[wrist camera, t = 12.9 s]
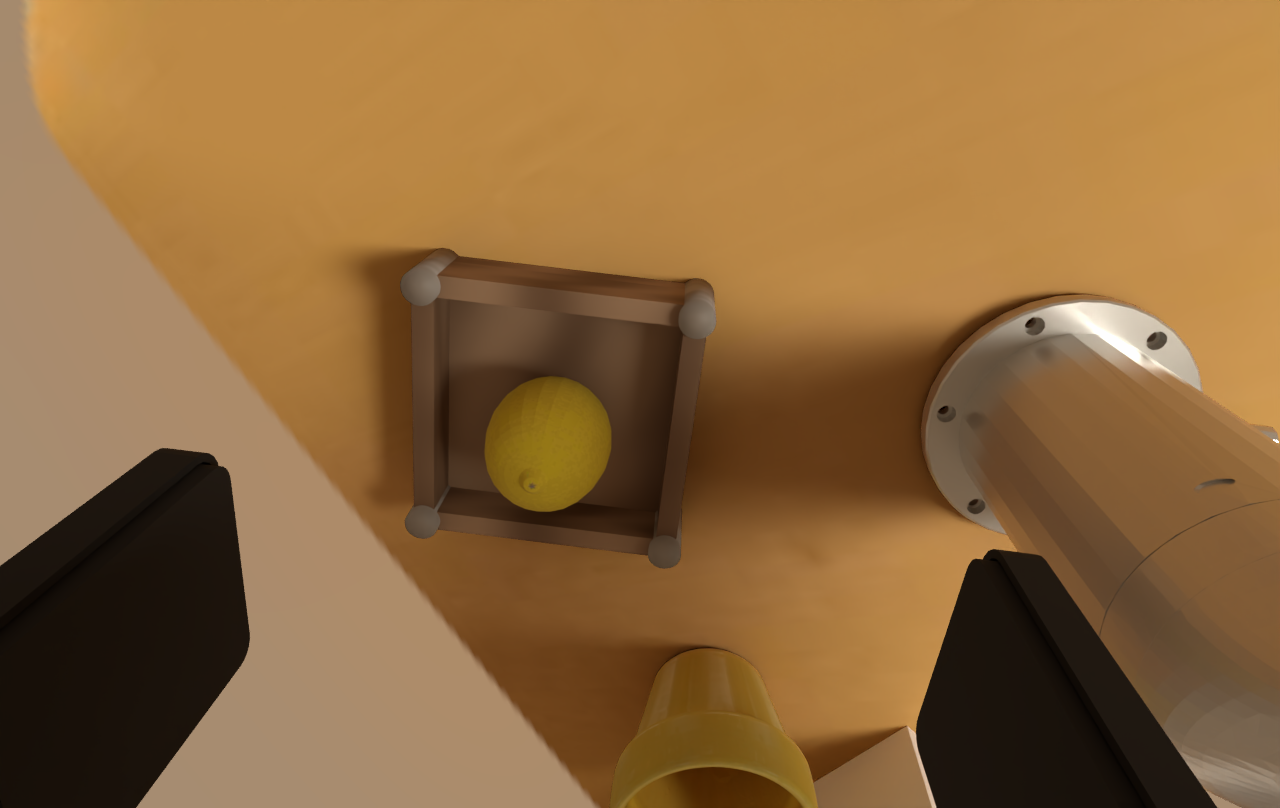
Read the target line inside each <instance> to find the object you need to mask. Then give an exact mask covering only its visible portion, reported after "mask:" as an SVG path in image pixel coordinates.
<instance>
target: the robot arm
mask: <svg viewBox="0 0 1280 808" xmlns="http://www.w3.org/2000/svg"><path fill="white" fill-rule="evenodd" d="M1031 318H1032V321H1031V323H1030V324H1028V325H1025V324H1026V322H1027V321H1028V320H1029V319H1031ZM1149 336H1150V337H1149ZM1148 337H1149V338H1148ZM943 406H946V407H945V409H943V410H940V411H939V409H940V408H942V407H943ZM921 440H922V450H923V455H924V458H925V461H926V464H927V467H928V470H929V472H930V474H931V476H932V478H933V479H934V481H935V483H936V485H937V487H938V489H939V490H940V492H941V493H942V494H943V495H944V497H945V498H946V499H947V500H948V502H949V503H950V504H951V505H952V506H953V507H954V508H955V509H956V510H957V511H958V512H960V513H961V514H962V515H963V516H964V517H966V518H967V519H969V520H971V521H973V522H975V523H977V524H979V525H980V526H982V527H984V528H986V529H988V530H992V531H995V532H998V533H1002V534H1005V535H1008V537H1009V539H1010V540H1011V542H1012V543H1013V545H1014V546H1015V548H1016V549H1017V551H1018V552H1012V551H1004V550H996V549H993V550H990V551H988V552H987V554H986V555H985V556H984V558H983V560H982V559H974V560H972V561H971V563H970V564H969V566H968V568H967V571H966V574H965V577H964V580H963V583H962V586H961V589H960V592H959V595H958V598H957V601H956V604H955V607H954V610H953V613H952V616H951V619H950V622H949V626H948V629H947V632H946V635H945V638H944V641H943V644H942V647H941V650H940V653H939V656H938V659H937V662H936V665H935V668H934V671H933V674H932V677H931V680H930V683H929V686H928V689H927V692H926V695H925V698H924V701H923V704H922V707H921V710H920V713H919V716H918V720H917V727H916V741H917V747H918V752H919V755H920V758H921V761H922V764H923V767H924V770H925V773H926V777H927V780H928V783H929V786H930V789H931V792H932V795H933V798H934V801H935V805H936V808H1217V807H1216V805H1215V804H1214V802H1213V801H1212V799H1211V798H1210V796H1209V795H1208V794H1207V792H1206V791H1208V792H1210V793H1212V794H1214V795H1216V796H1218V797H1220V798H1222V799H1224V800H1226V801H1229V802H1231V803H1233V804H1235V805H1237V806H1239V807H1242V808H1280V444H1278V436H1277V432H1276V431H1275V430H1274V428H1273V427H1269V426H1263V425H1254V424H1249V423H1247V422H1246V421H1244V420H1243V419H1241V418H1240V417H1238V416H1237V415H1235V414H1234V413H1232V412H1231V411H1229V410H1228V409H1226V408H1225V407H1223V406H1222V405H1220V404H1219V403H1217V402H1216V401H1214V400H1213V399H1211V398H1210V397H1208V396H1207V395H1205V394H1204V393H1203V389H1202V383H1201V378H1200V373H1199V368H1198V366H1197V364H1196V362H1195V360H1194V358H1193V356H1192V353H1191V351H1190V349H1189V348H1188V346H1187V345H1186V344H1185V343H1184V342H1183V340H1182V339H1181V338H1180V337H1179V335H1178V334H1177V333H1176V332H1175V331H1174V330H1173V329H1172V328H1170V327H1169V326H1168V325H1166V324H1165V323H1164V322H1162V321H1161V320H1160V319H1158V318H1157V317H1156V316H1154V315H1152V314H1150V313H1149V312H1147V311H1145V310H1143V309H1141V308H1139V307H1137V306H1136V305H1133V304H1130V303H1127V302H1124V301H1121V300H1118V299H1114V298H1111V297H1104V296H1095V295H1087V294H1081V295H1065V296H1055V297H1051V298H1046V299H1042V300H1038V301H1034V302H1030V303H1027V304H1025V305H1022V306H1020V307H1018V308H1015V309H1013V310H1010V311H1008V312H1006V313H1003V314H1002V315H1000V316H998V317H997V318H995V319H994V320H992V321H990V322H989V323H987V324H986V325H984V326H982V327H981V328H979V329H978V330H977V331H976V332H975V333H974V334H972V335H971V336H970V337H969V338H968V339H967V340H966V341H964V342H963V343H962V344H961V345H960V346H959V347H958V348H957V349H956V351H955V352H954V353H953V354H952V355H951V357H950V358H949V359H948V360H947V361H946V363H945V364H944V365H943V366H942V368H941V370H940V372H939V374H938V375H937V377H936V379H935V381H934V383H933V384H932V386H931V388H930V391H929V394H928V397H927V400H926V403H925V406H924V409H923V416H922V425H921ZM249 641H250V632H249V624H248V616H247V608H246V600H245V592H244V584H243V577H242V568H241V560H240V552H239V543H238V536H237V528H236V519H235V511H234V503H233V495H232V487H231V480H230V475H229V472H228V471H227V469H226V468H224V467H221V466H218V462H217V461H216V459H215V457H214V456H212V455H211V454H209V453H201V452H193V451H184V450H176V449H168V448H162V449H159V450H157V451H155V452H153V453H152V454H151V455H149V456H148V457H147V458H145V459H144V460H142V461H141V462H140V463H139V464H137V465H136V466H135V467H133V468H132V469H130V470H129V471H128V472H126V473H125V474H124V475H122V476H121V477H120V478H118V479H117V480H115V481H114V482H113V483H111V484H110V485H109V486H107V487H106V488H105V489H103V490H102V491H101V492H99V493H98V494H97V495H95V496H94V497H93V498H92V499H90V500H89V501H87V502H86V503H85V504H83V505H82V506H81V507H79V508H78V509H76V510H75V511H74V512H72V513H71V514H70V515H68V516H67V517H66V518H64V519H63V520H62V521H60V522H59V523H58V524H56V525H55V526H54V527H52V528H51V529H49V530H48V531H47V532H45V533H44V534H43V535H41V536H40V537H39V538H37V539H36V540H35V541H33V542H32V543H31V544H29V545H28V546H27V547H25V548H24V549H23V550H21V551H20V552H19V553H17V554H16V555H15V556H13V557H12V558H11V559H9V560H8V561H6V562H5V563H4V564H2V565H1V566H0V808H136V807H137V806H138V804H139V803H140V802H141V800H142V799H143V798H144V796H145V795H146V793H147V792H148V791H149V789H150V788H151V787H152V785H153V784H154V783H155V781H156V780H157V779H158V777H159V776H160V774H161V773H162V772H163V770H164V769H165V768H166V766H167V765H168V764H169V762H170V761H171V760H172V758H173V757H174V756H175V754H176V753H177V752H178V750H179V749H180V747H181V746H182V745H183V743H184V742H185V741H186V739H187V738H188V737H189V735H190V734H191V732H192V731H193V730H194V728H195V727H196V726H197V724H198V723H199V722H200V720H201V719H202V717H203V716H204V715H205V713H206V712H207V711H208V709H209V708H210V707H211V705H212V704H213V702H214V701H215V700H216V699H217V697H218V696H219V694H220V693H221V692H222V690H223V689H224V688H225V686H226V685H227V684H228V682H229V681H230V680H231V678H232V677H233V676H234V674H235V673H236V671H237V670H238V669H239V667H240V666H241V664H242V663H243V661H244V659H245V656H246V654H247V651H248V647H249ZM1205 790H1206V791H1205Z"/></svg>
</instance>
